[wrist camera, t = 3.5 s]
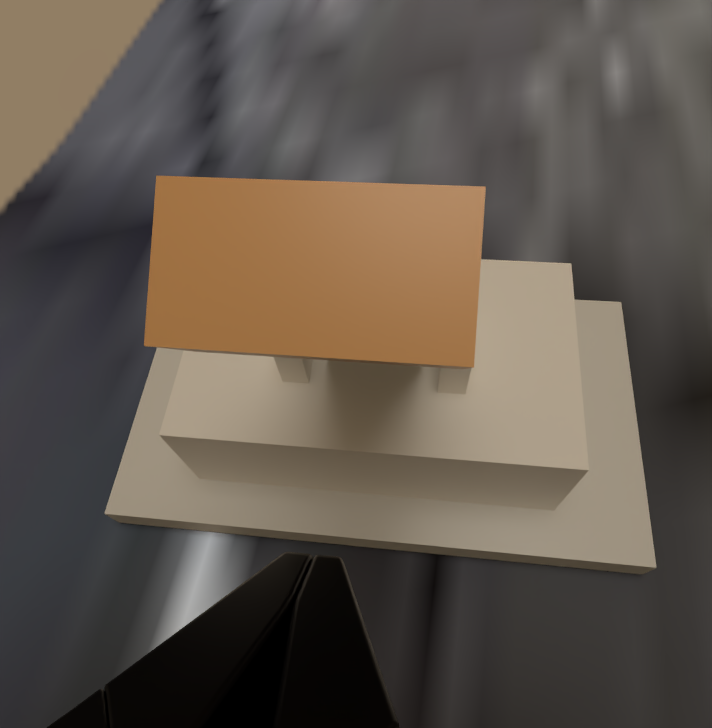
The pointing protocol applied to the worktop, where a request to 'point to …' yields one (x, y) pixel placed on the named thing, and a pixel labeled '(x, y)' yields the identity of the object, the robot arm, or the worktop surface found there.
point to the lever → (316, 270)
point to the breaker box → (411, 441)
